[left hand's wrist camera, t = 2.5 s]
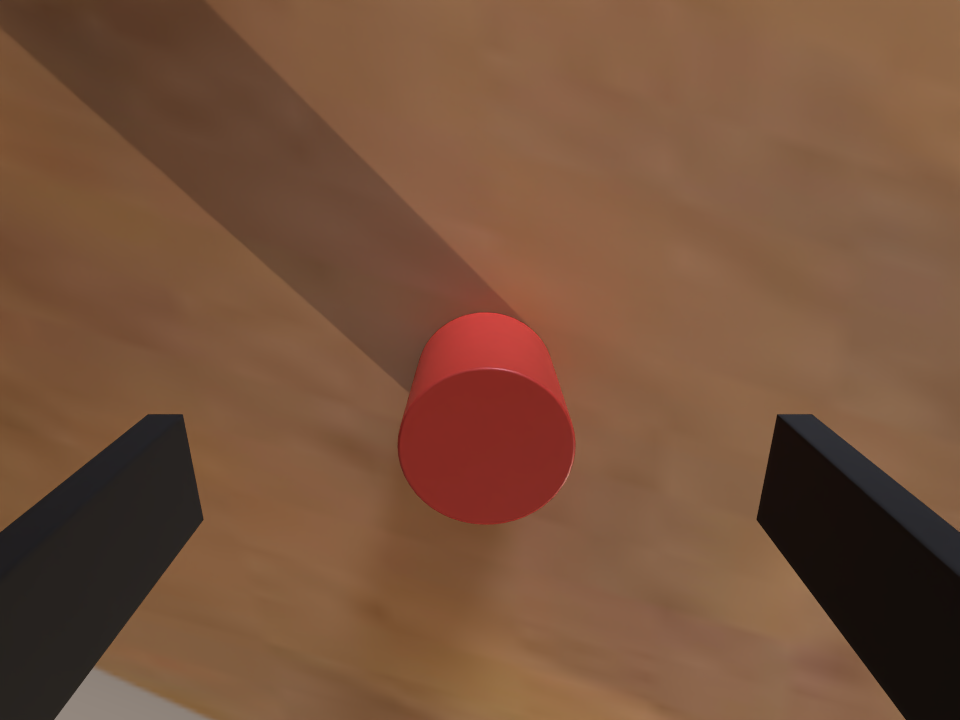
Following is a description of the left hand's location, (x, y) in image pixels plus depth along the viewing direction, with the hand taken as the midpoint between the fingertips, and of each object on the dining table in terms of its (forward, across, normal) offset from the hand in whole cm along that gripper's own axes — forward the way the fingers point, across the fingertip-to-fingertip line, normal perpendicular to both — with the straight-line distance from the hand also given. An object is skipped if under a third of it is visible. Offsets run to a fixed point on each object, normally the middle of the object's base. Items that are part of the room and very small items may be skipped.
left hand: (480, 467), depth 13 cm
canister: (+5, 0, 0) cm, 5 cm away
